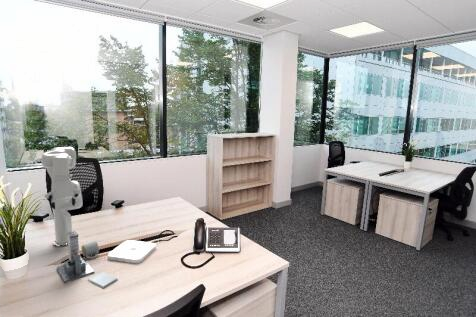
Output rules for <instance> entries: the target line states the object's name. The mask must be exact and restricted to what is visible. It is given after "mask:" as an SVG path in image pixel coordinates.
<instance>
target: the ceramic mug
mask: <svg viewBox="0 0 476 317" xmlns="http://www.w3.org/2000/svg"><path fill="white" fill-rule="evenodd" d="M81 253H82V255H83V256H82V257H84V258H85V257H86V258H87V259H89V260H93V259H96V258H97V257H98V256H99V253H100V249H99V244H98V242H97V241H96V240H94V241H90V242H87V243H85V244H83V245H82V246H81ZM92 255H93V256H92ZM94 255H95V256H94ZM91 256H92V257H91Z"/></svg>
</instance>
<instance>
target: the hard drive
mask: <svg viewBox="0 0 476 317" xmlns="http://www.w3.org/2000/svg"><path fill="white" fill-rule="evenodd" d="M118 280H119V279H118V278H116V277H115V276H112V275H110V274H108V273H106V272H104V271H101V272H99V273H97V274H95V275H93V276H91V277H89V278H88V280H87V281H88V282H90V283H92V284H93V285H96V286H97V287H100V288H102V289H105V288H107V287H109V286H111V285H112V284H114V283H116V282H117V281H118Z"/></svg>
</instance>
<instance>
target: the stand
mask: <svg viewBox="0 0 476 317" xmlns="http://www.w3.org/2000/svg"><path fill="white" fill-rule="evenodd" d="M73 256H74V259H75V262H72V263H71V262H70V260H69V259H68V260H66V261H63V264H62V265H59V266H58V265H57V266H56V270H57V272H58V273H59V276H60V278H61V279H62V281H63V282H64V283H63V284H66V283H69V282H72V281H75V280H78V279H80V278H83V277H86V276H89V275H92V274H95V270H94V269H93V267H91V266H90V264H89V262H88V261H87V260H86V259H85V258H82V256H81V253H80V252H79V253H76V254H73Z"/></svg>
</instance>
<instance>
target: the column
mask: <svg viewBox="0 0 476 317" xmlns="http://www.w3.org/2000/svg"><path fill="white" fill-rule="evenodd" d="M67 236H68V245H67V247H68V261H69V260H70V262H71V263H72V262H75V259H74V256H73V254H76V253H79V254H80V247H79V234H78V232H77V231H75V230H74V231H73V230H72V232H69V233H67Z"/></svg>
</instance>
